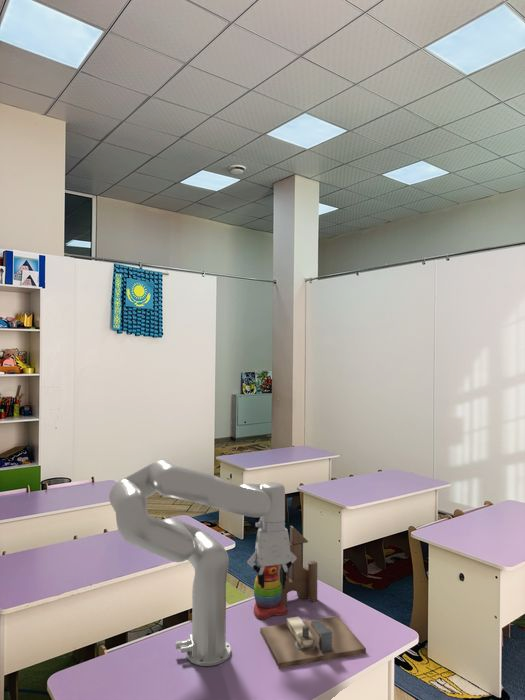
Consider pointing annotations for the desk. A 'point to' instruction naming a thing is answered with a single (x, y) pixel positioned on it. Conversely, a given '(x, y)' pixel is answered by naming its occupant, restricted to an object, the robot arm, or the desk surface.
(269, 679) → the desk surface
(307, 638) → the link
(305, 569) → the wooden toy
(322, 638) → the keeper
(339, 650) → the base board
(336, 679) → the desk surface
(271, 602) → the stacking bear
